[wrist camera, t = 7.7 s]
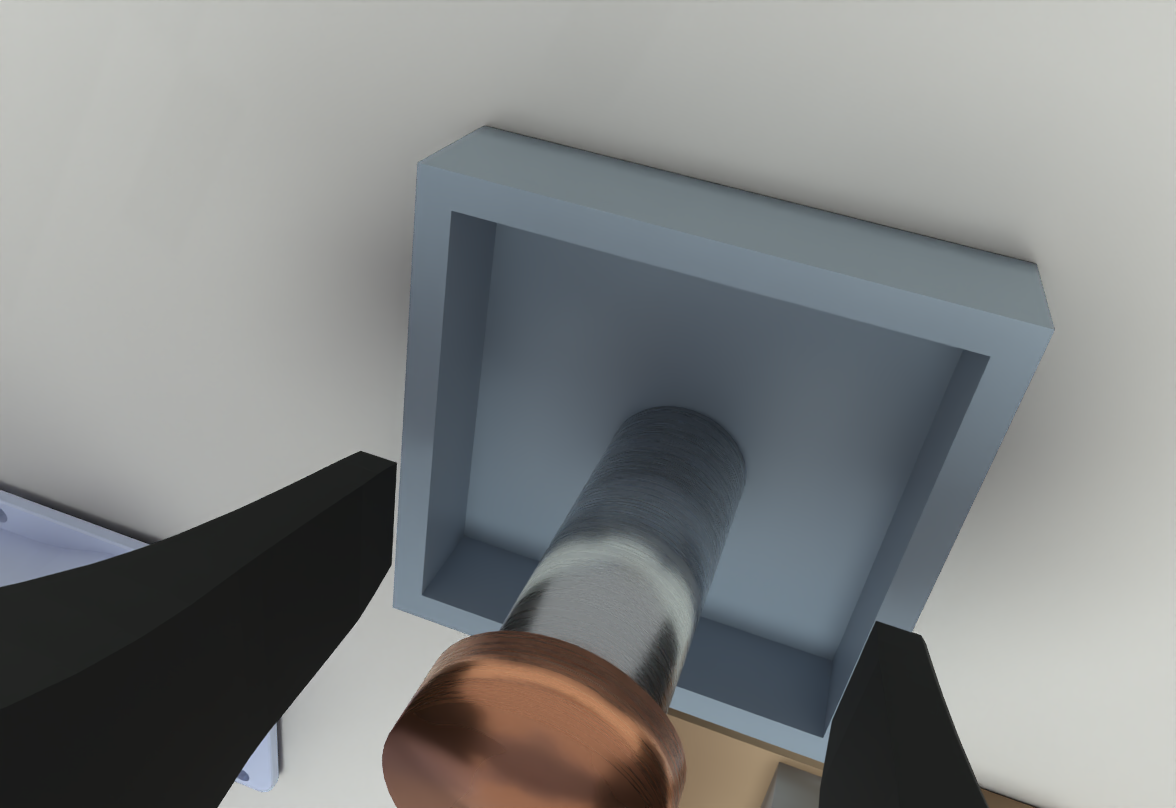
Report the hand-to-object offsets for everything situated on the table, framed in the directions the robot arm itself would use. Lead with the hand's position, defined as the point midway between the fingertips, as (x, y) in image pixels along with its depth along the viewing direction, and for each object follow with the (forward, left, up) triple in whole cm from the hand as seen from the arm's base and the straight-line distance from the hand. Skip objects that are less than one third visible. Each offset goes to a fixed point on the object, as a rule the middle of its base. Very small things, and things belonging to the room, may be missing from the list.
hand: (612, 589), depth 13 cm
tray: (0, 0, -5) cm, 5 cm away
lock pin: (0, -1, -4) cm, 4 cm away
